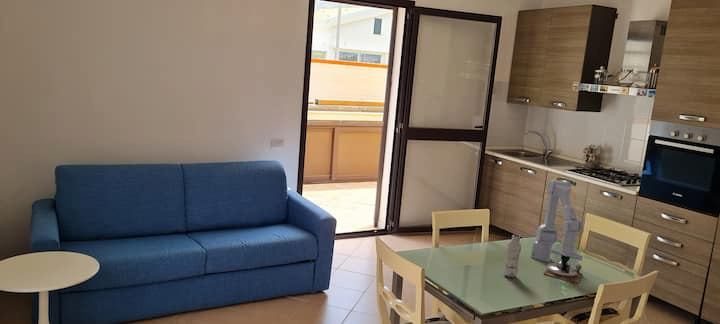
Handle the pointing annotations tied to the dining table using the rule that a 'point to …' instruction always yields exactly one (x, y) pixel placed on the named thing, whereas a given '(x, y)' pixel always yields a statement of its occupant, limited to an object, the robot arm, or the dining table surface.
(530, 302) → the dining table surface
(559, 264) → the cover
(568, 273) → the turntable
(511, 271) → the plastic bottle
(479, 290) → the dining table surface
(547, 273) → the base board
